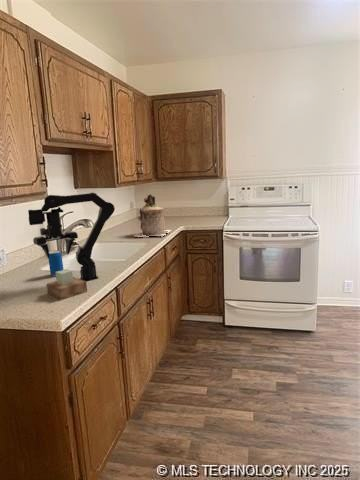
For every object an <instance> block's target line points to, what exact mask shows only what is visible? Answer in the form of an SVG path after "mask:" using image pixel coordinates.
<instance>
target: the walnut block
mask: <svg viewBox="0 0 360 480" xmlns="http://www.w3.org/2000/svg"><path fill="white" fill-rule="evenodd" d="M73 281H74V282H73V283H69V284H66V285H60V284H58V283H57V280H55V281H51V282H48V283H46V291H47V295H50V296H51V297H54V298H55V299H58V300H60V301H62V300H65V299H69V298H72V297H75V296H79V295H81V294H82V295H83V294H85V293H87V292H88V287H87V281H85V280H83V279H81V278H78V277H74V276H73Z"/></svg>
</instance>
